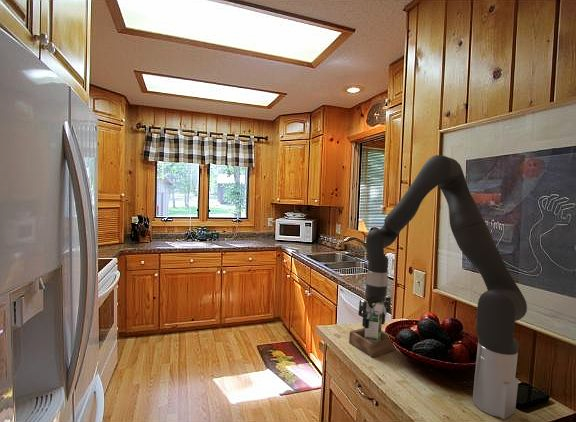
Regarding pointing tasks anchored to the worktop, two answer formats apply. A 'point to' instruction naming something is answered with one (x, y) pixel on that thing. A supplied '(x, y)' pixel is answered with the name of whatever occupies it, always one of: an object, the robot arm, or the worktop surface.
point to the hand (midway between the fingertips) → (373, 325)
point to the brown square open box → (371, 343)
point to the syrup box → (374, 323)
